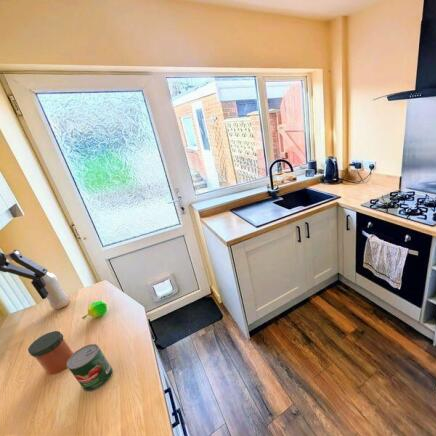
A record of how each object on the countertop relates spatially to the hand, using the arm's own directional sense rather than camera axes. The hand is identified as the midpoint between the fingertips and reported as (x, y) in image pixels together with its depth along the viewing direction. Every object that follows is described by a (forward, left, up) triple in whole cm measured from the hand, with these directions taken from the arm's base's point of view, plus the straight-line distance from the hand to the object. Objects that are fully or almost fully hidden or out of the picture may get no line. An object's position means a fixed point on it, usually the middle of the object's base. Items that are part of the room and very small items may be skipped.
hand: (17, 305), depth 73 cm
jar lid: (0, 0, -16) cm, 16 cm away
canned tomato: (+18, -6, -27) cm, 33 cm away
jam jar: (0, 0, -27) cm, 27 cm away
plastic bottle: (-26, +29, -27) cm, 47 cm away
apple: (-3, +21, -27) cm, 34 cm away
